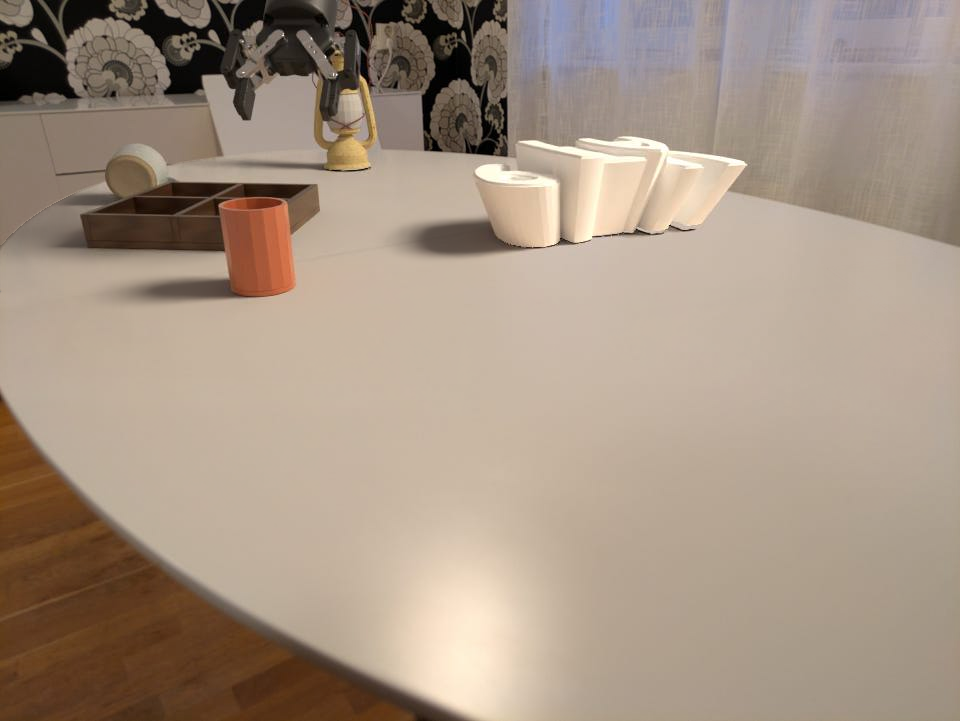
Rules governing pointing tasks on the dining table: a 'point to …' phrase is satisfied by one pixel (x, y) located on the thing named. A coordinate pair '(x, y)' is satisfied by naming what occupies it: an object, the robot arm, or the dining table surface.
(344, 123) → the lantern
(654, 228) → the white wavy slab sculpture
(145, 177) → the ceramic mug
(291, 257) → the cup
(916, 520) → the dining table surface
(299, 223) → the tray
